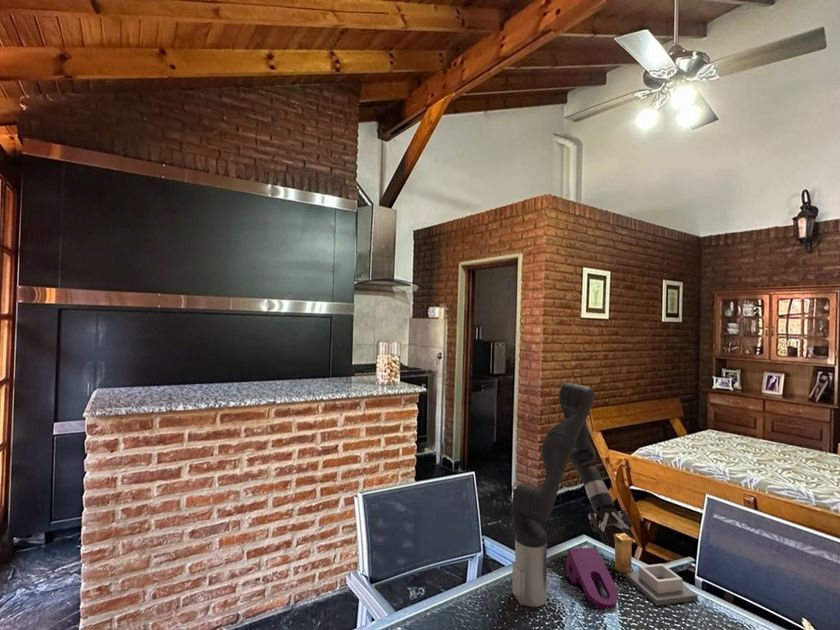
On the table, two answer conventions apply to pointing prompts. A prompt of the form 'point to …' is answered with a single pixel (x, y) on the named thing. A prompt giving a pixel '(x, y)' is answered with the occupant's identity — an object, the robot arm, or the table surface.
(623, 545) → the locking wedge
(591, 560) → the mounting bracket
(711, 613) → the table surface
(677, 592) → the socket plate
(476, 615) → the table surface
